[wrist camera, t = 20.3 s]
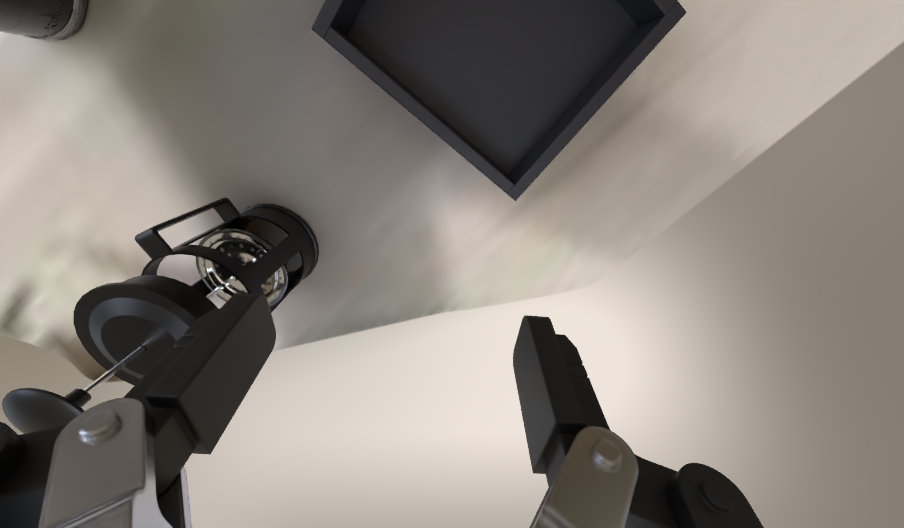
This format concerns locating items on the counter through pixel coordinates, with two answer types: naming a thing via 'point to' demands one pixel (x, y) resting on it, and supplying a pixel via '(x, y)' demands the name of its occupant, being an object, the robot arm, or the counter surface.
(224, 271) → the french press
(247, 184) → the counter surface
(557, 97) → the dark square tray
